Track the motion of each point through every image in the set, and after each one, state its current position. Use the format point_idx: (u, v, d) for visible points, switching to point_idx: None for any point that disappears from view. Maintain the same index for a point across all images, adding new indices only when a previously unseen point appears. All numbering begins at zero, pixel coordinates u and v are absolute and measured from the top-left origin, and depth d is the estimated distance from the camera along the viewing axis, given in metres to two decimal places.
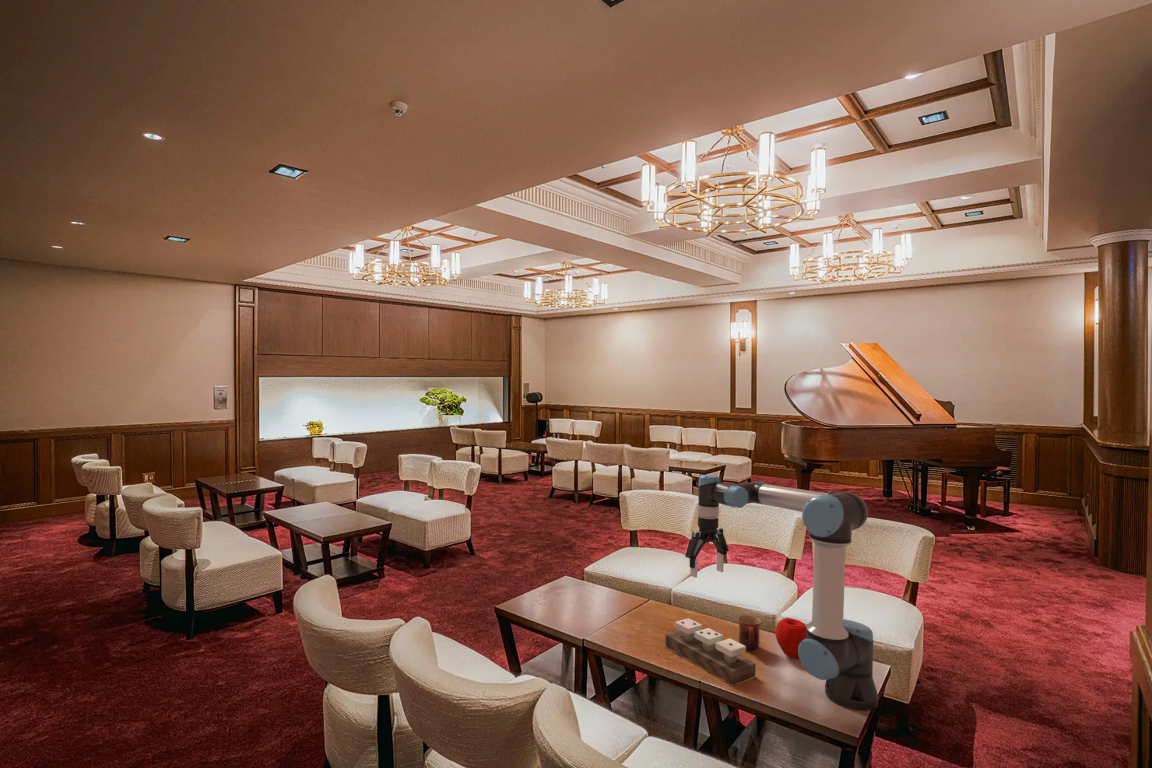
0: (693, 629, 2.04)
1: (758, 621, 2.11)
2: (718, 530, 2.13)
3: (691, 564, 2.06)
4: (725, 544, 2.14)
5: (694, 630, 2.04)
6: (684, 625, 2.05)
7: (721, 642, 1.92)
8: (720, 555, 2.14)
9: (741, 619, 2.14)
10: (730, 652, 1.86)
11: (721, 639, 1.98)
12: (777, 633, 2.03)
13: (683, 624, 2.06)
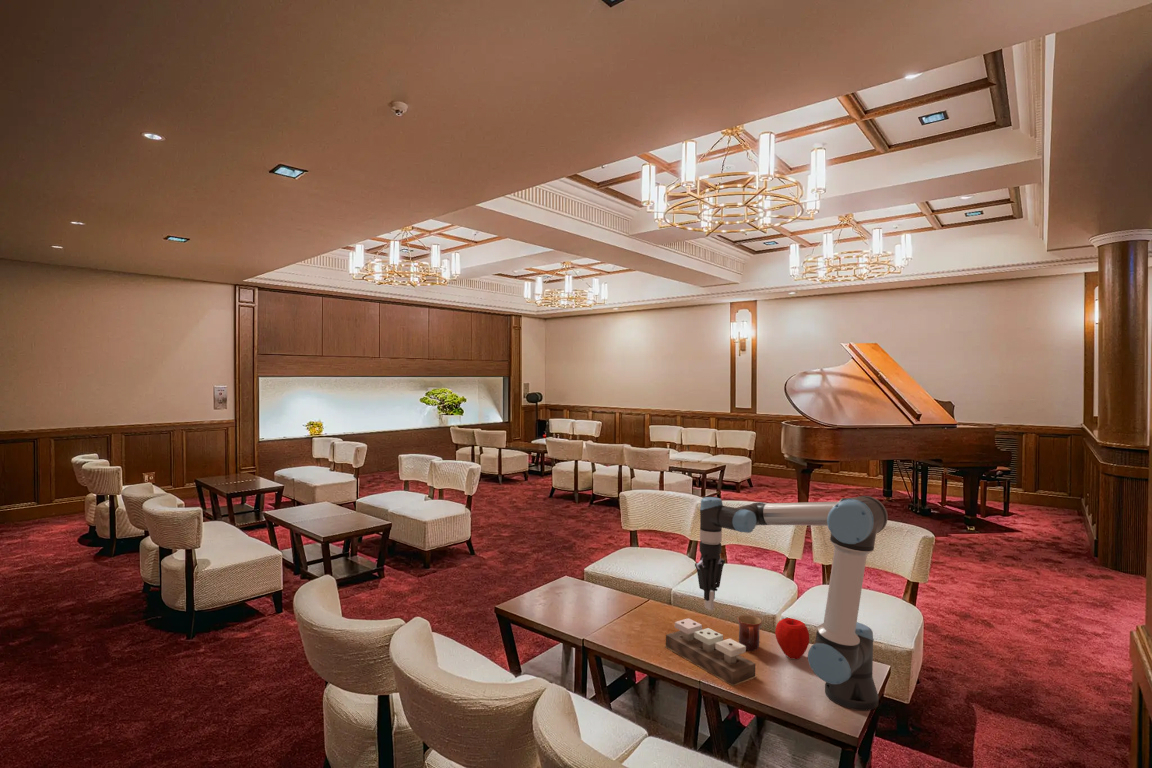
0: (693, 629, 2.04)
1: (758, 621, 2.11)
2: (720, 559, 2.02)
3: (706, 596, 1.98)
4: (719, 578, 2.00)
5: (694, 630, 2.04)
6: (684, 625, 2.05)
7: (721, 642, 1.92)
8: None
9: (741, 619, 2.14)
10: (730, 652, 1.86)
11: (721, 639, 1.98)
12: (777, 633, 2.03)
13: (683, 624, 2.06)
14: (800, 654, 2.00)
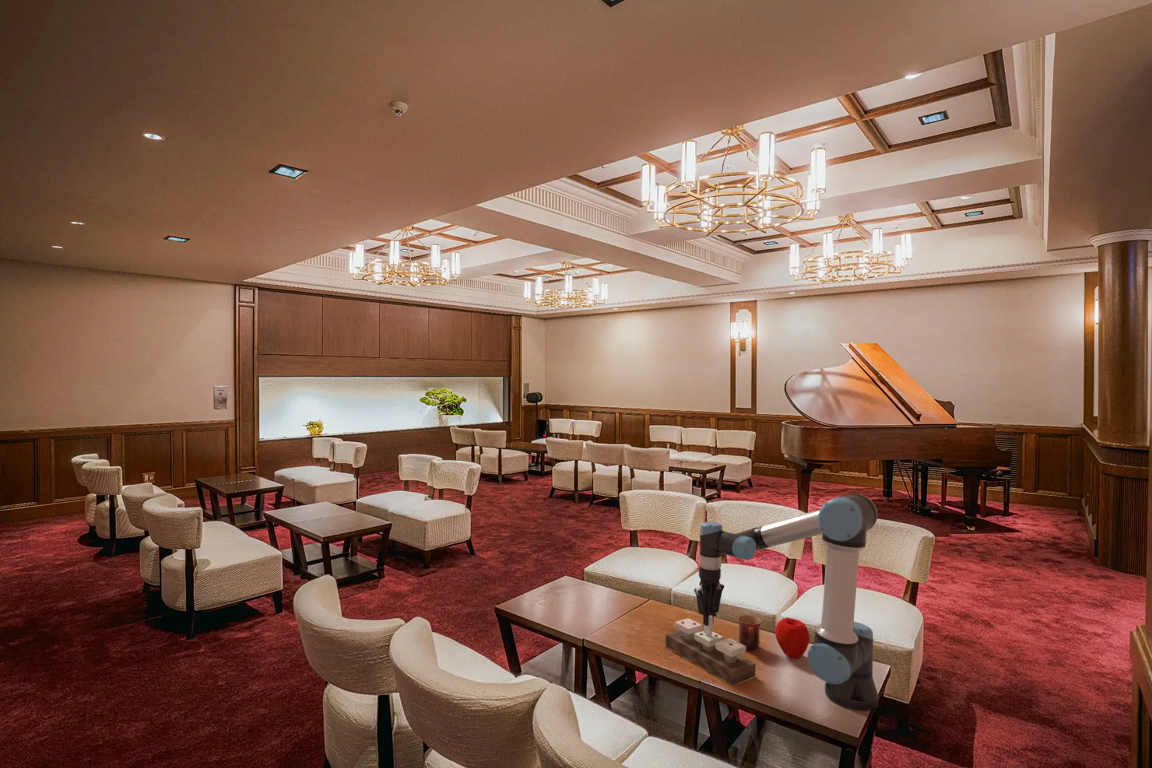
0: (693, 629, 2.04)
1: (758, 621, 2.11)
2: (719, 584, 2.01)
3: (705, 621, 1.98)
4: (718, 603, 2.00)
5: (694, 630, 2.04)
6: (684, 625, 2.05)
7: (721, 642, 1.92)
8: None
9: (741, 619, 2.14)
10: (730, 652, 1.86)
11: None
12: (777, 633, 2.03)
13: (683, 624, 2.06)
14: (800, 654, 2.00)
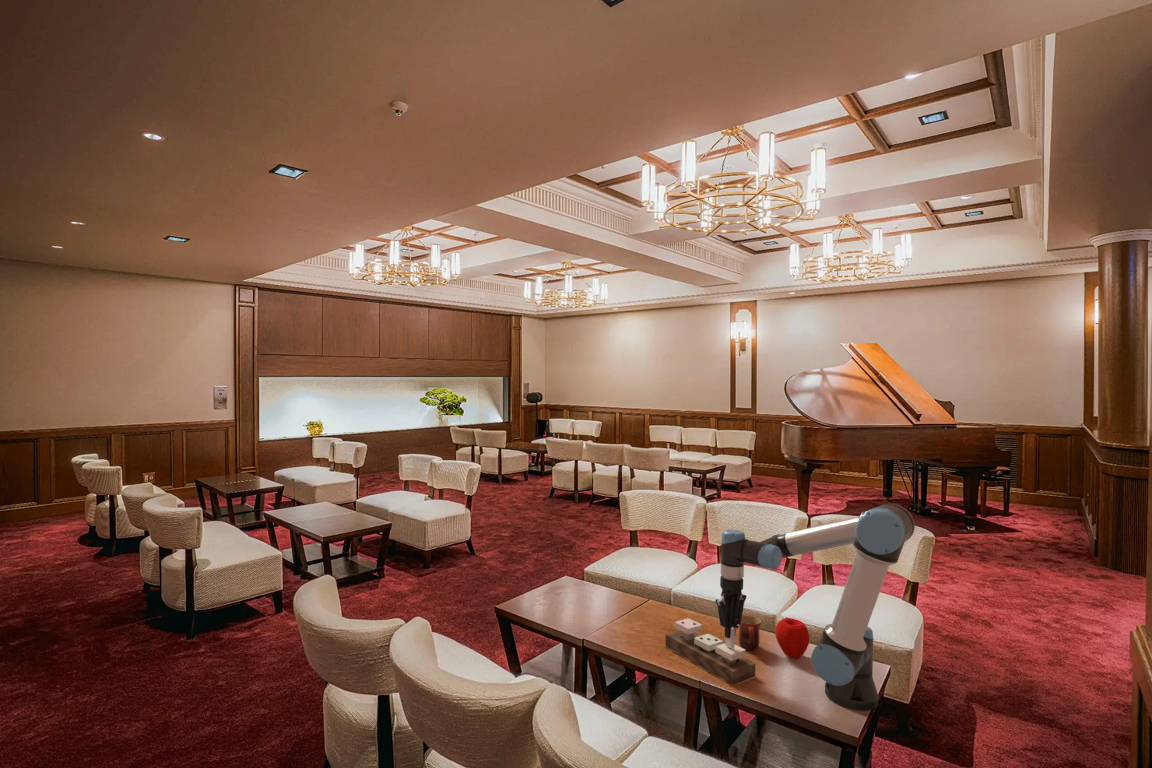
0: (693, 629, 2.04)
1: (758, 621, 2.11)
2: (741, 595, 1.93)
3: (727, 633, 1.90)
4: (740, 614, 1.92)
5: (694, 630, 2.04)
6: (684, 625, 2.05)
7: (721, 645, 1.92)
8: None
9: (741, 619, 2.14)
10: (730, 656, 1.86)
11: None
12: (777, 633, 2.03)
13: (683, 624, 2.06)
14: (800, 654, 2.00)
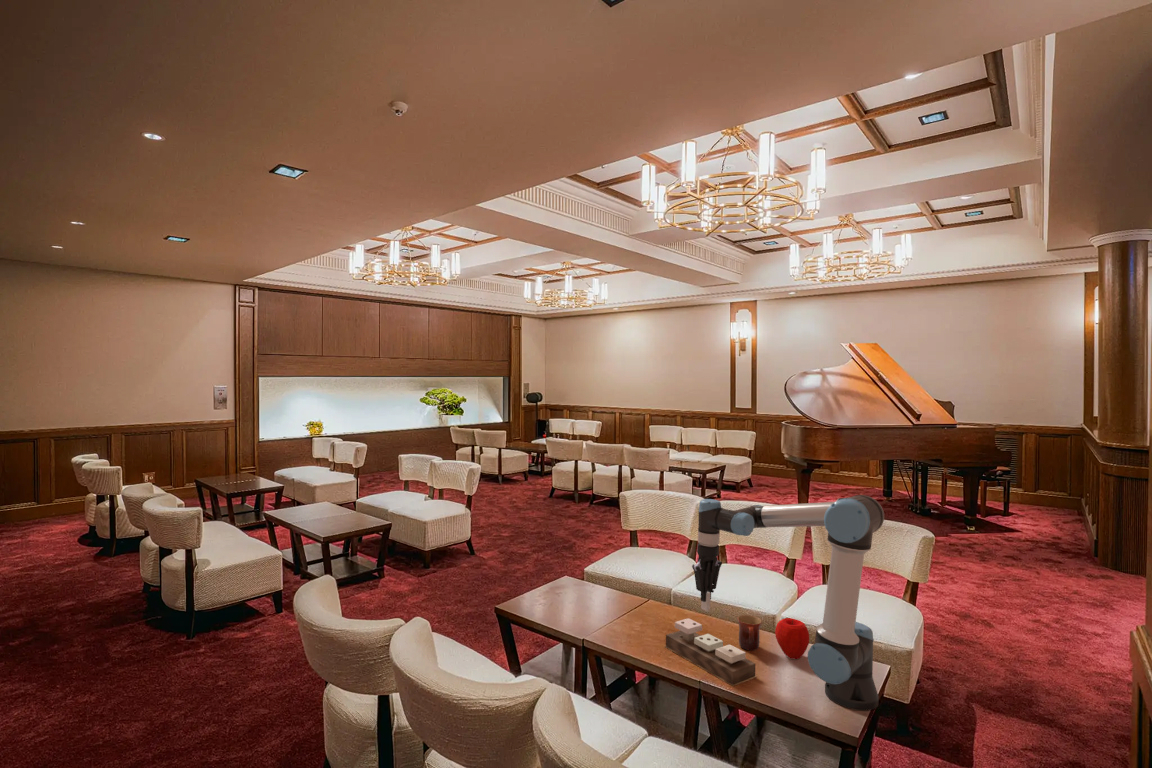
0: (693, 629, 2.04)
1: (758, 621, 2.11)
2: (717, 561, 2.02)
3: (702, 597, 1.99)
4: (716, 580, 2.01)
5: (694, 630, 2.04)
6: (684, 625, 2.05)
7: (721, 648, 1.92)
8: None
9: (741, 619, 2.14)
10: (730, 658, 1.86)
11: (721, 645, 1.97)
12: (777, 633, 2.03)
13: (683, 624, 2.06)
14: (800, 654, 2.00)
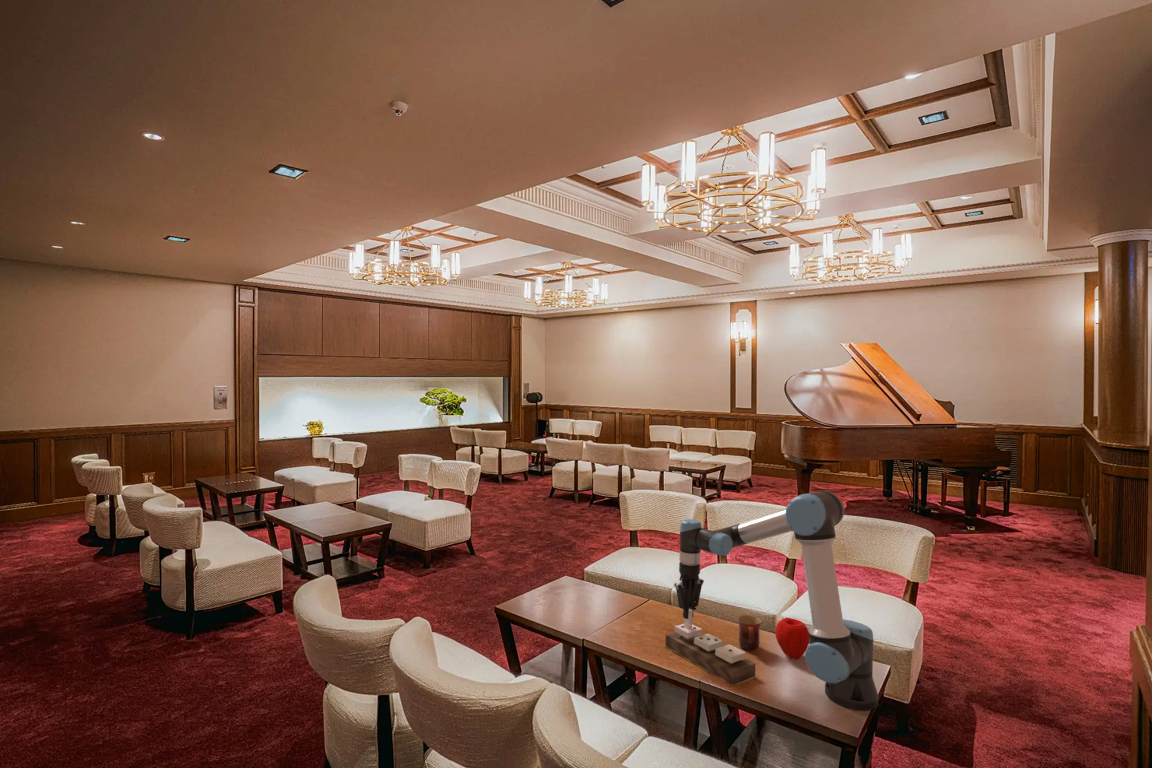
0: (693, 633, 2.04)
1: (758, 621, 2.11)
2: (699, 579, 2.10)
3: (685, 615, 2.06)
4: (698, 597, 2.09)
5: (694, 634, 2.04)
6: (684, 629, 2.05)
7: (721, 648, 1.92)
8: None
9: (741, 619, 2.14)
10: (730, 658, 1.86)
11: (721, 645, 1.97)
12: (777, 633, 2.03)
13: (683, 628, 2.06)
14: (800, 654, 2.00)
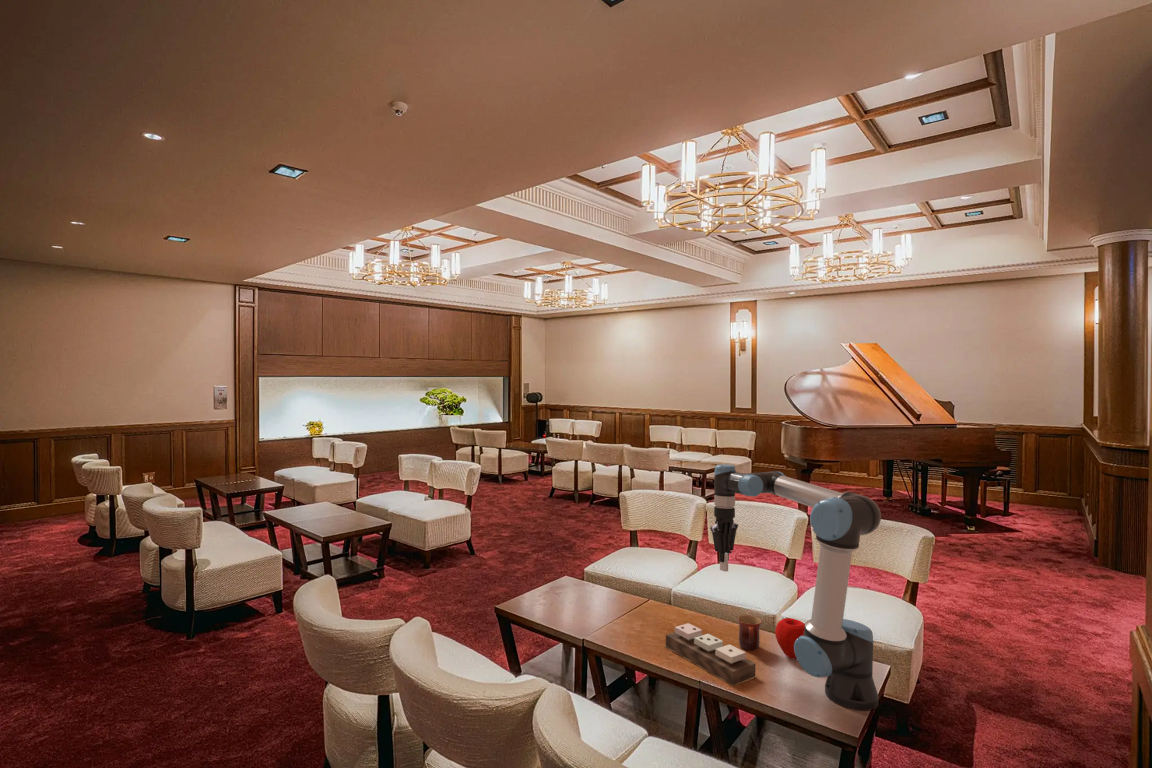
0: (693, 634, 2.04)
1: (758, 621, 2.11)
2: (733, 524, 2.12)
3: (721, 558, 2.08)
4: (733, 541, 2.11)
5: (694, 635, 2.04)
6: (684, 630, 2.05)
7: (721, 648, 1.92)
8: None
9: (741, 619, 2.14)
10: (730, 658, 1.86)
11: (721, 645, 1.97)
12: (777, 633, 2.03)
13: (683, 629, 2.06)
14: None
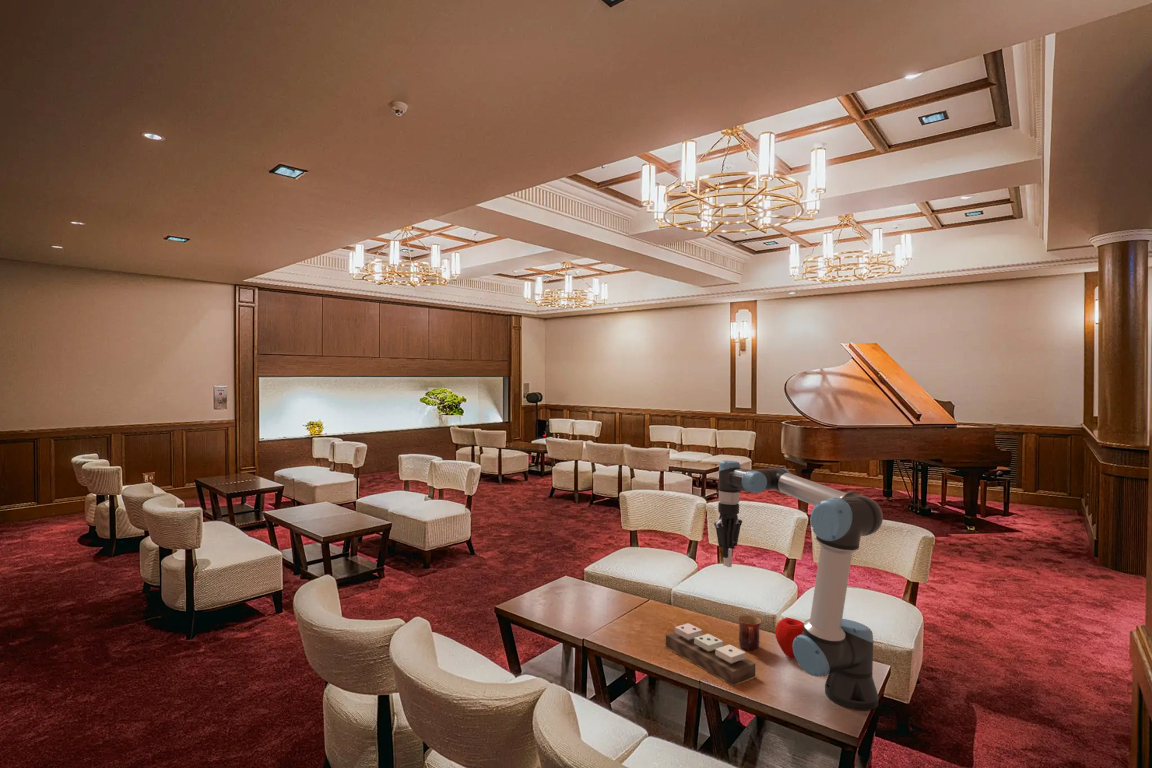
0: (693, 634, 2.04)
1: (758, 621, 2.11)
2: (738, 520, 2.12)
3: (724, 554, 2.09)
4: (737, 537, 2.11)
5: (694, 635, 2.04)
6: (684, 630, 2.05)
7: (721, 648, 1.92)
8: None
9: (741, 619, 2.14)
10: (730, 658, 1.86)
11: (721, 645, 1.97)
12: (777, 633, 2.03)
13: (683, 629, 2.06)
14: None
